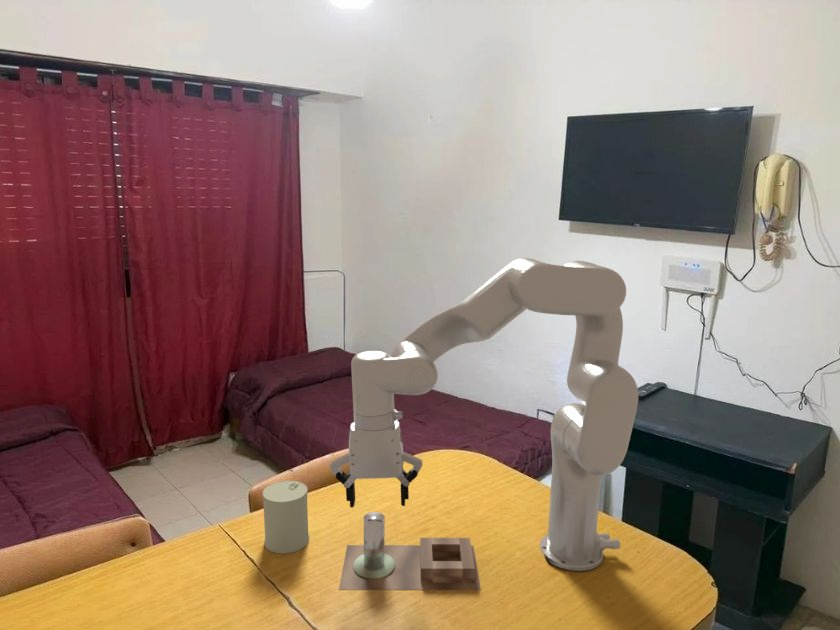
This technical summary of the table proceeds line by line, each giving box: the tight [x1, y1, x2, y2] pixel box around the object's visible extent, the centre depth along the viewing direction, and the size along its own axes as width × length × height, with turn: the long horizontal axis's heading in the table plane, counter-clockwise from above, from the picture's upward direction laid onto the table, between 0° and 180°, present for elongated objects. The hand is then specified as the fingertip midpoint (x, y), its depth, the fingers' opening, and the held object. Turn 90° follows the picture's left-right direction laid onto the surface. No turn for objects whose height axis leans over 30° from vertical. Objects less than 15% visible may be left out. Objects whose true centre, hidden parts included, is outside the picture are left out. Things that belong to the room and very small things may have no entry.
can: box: [262, 480, 310, 555], centre depth 125 cm, size 9×9×12 cm
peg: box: [363, 511, 386, 571], centre depth 115 cm, size 4×4×10 cm
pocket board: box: [338, 537, 481, 591], centre depth 116 cm, size 26×14×4 cm, turn 91°
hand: (378, 503), depth 114 cm, fingers open, 9 cm apart
